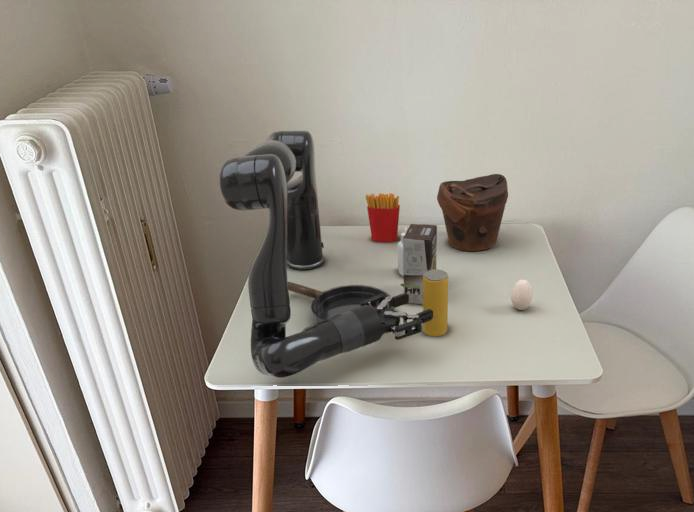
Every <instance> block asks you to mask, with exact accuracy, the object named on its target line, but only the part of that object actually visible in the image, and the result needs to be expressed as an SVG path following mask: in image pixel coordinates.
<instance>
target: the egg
mask: <svg viewBox="0 0 694 512" xmlns="http://www.w3.org/2000/svg"><path fill="white" fill-rule="evenodd" d="M510 299H511V303H512V306H513V307H514V308H515V309H517V310H518V311H523V310H526V309H527V308H528V307H529V306H530V304H531V303H532V300H533V289H532V286H531V283H529V280H528V281H527V280H526V279H525V278H524V279H519V280H518V281H516V282H515V283H514V286H513V287H512V289H511V295H510Z"/></svg>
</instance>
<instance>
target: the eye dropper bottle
mask: <svg viewBox="0 0 694 512" xmlns="http://www.w3.org/2000/svg"><path fill="white" fill-rule="evenodd" d="M407 230H408V228H407V227H405V228H404V229H403V232H401V233H400V241H398V243H397V272H398V274H399V275H400V276H401V277H404V273H403V237H404V236H405V234H406V232H407Z"/></svg>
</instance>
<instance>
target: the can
mask: <svg viewBox="0 0 694 512" xmlns="http://www.w3.org/2000/svg"><path fill="white" fill-rule="evenodd" d="M428 309H431V310H433V319H432V320H431V321H428V322H426V323H423V324H422V332H423V333H424V334H425V335H427V336H430V337H440V336H444V335H445V334H447V332H448V313H449V311H448V310H449V274H448V272H447V271H445V270H443V269H437V268H436V269H434V270H429V271H426V272H425V273H424V275H423V304H422V312H423V311H425V310H428Z"/></svg>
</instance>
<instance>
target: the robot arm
mask: <svg viewBox="0 0 694 512" xmlns="http://www.w3.org/2000/svg"><path fill="white" fill-rule="evenodd" d="M315 153H316V151H315V142H314V138H313V135H312V133H311V132H310V131H308V130H277V131H273V132H271V133H270V134H269V135H268V136H267V138H266V139H265V141H264V142H261V143H260V144H258V145H256V146H255V147H254V148H252V149H251V150H249V151H248V152H246V153H244V154H243V155H242V156H234V157H230V158H227V159H226V160H225V161H224V162H223V163H222V166H221V167H220V170H219V174H218V188H219V192H220V195H221V197H222V199H223V200H224V202H225V204H226V205H227V206H229V207H230V208H231V209H233V210H237V211H255V210H264V209H267V210H268V220H267V221H268V222H267V223H268V224H267V228H266V232H265V235H264V238H263V240H262V243H261V245H260V247H259V250H258V251H257V254H256V256H255V258H254V260H253V262H252V265H251V267H250V271H249V273H248V280H247V281H248V282H247V283H248V285H247V286H248V295H249V305H250V314H251V319H252V320H251V329H250V330H251V331H250V355H251V361H252V364H253V366H254V367H255V369H256V370H257V371H258V372H259V373H260V374H262V375H264V376H269V377H273V378H278V379H280V378H288V377H291V376H294V375H296V374H298V373H301V372H304V371H305V370H306V369H308V368H311V367H312V366H313V365H315V364H316V363H318V362H322V361H324V360H328V359H331V358H334V357H336V356H338V355H341V354H345V353H349V352H352V351H355V350H357V349H360V348H363V347H365V346H368V345H371V344H373V343H377V342H378V341H380V340H381V339H382V337H383V336H384V335H385V334H389V333H392V334H394V339H395V340H397V341H399V340H400V341H401V340H402V339H405V338H409V337H411V336H414V335H417V334H420V333H422V332H423V323H426V322H428V321H431V320H432V319H433V310H431V309H428V310H425V311H423V310H422V311H420V312H418V313H416V314H414V313H413V314H412V313H411V314H410V313H407V312H405V311H398V310H396V309H395V308H398V307H401V306H404V305H407V304H409V303H408V302H409V295H408V294H407V293H404V292H403V293H400V294H398V295H395V296H391V295H390V296H391V297H390V296H388V297H385V295H384V294H379V295H377V296H374V297H372V298H369V299H366V300H364V301H361V302H360V307H358V308H355V309H352V310H349V311H347V312H344V313H341V314H338V315H336V316H333V317H332V318H330V319H327V320H325V321H322V322H319V323H316V324H315V323H313V324H311V325H308V326H306V327H304V328H303V329H302V330H301V331H300V332H296V333H294V334H291V335H288V336H287V333H286V330H287V329H286V328H287V327H286V326H287V323H288V322H289V321H290V319H291V315H292V312H291V311H292V310H291V301H290V291H289V290H288V282H289V281H288V267H289V268H292V269H295V270H301V271H302V270H311V269H316V268H318V267H320V266H322V265H323V264H324V263H325V261H324V260H325V257H324V253H323V252H324V251H323V249H324V243H323V242H322V241H323V240H322V231H321V219H320V209H319V197H318V187H317V177H316V155H315ZM297 172H301V175H300V176H299V177H297V178H295V179H293V180H292V178H293V176H294V175H295V173H297ZM378 300H379V303H378V304H376V302H377V301H378ZM392 306H393V307H394V309H393V308H392ZM401 319H402V323H401ZM408 320H411V321H408Z"/></svg>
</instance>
